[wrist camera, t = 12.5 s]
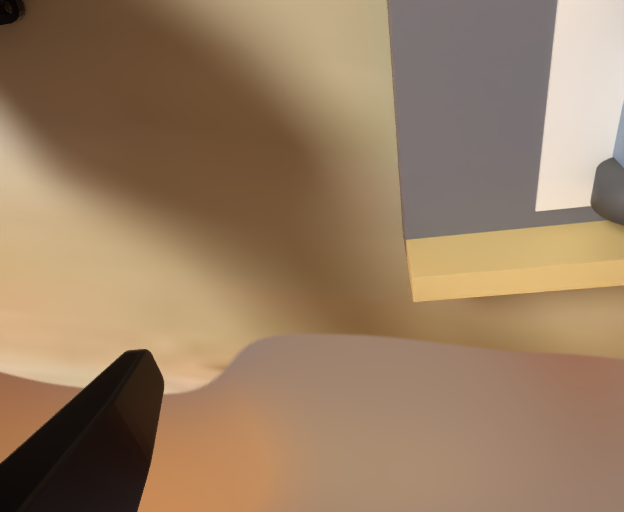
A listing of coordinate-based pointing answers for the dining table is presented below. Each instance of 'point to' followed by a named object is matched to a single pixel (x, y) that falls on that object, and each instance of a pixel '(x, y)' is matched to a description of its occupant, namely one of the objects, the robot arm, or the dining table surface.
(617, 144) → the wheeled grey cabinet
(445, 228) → the wooden frame
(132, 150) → the dining table surface
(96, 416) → the robot arm
